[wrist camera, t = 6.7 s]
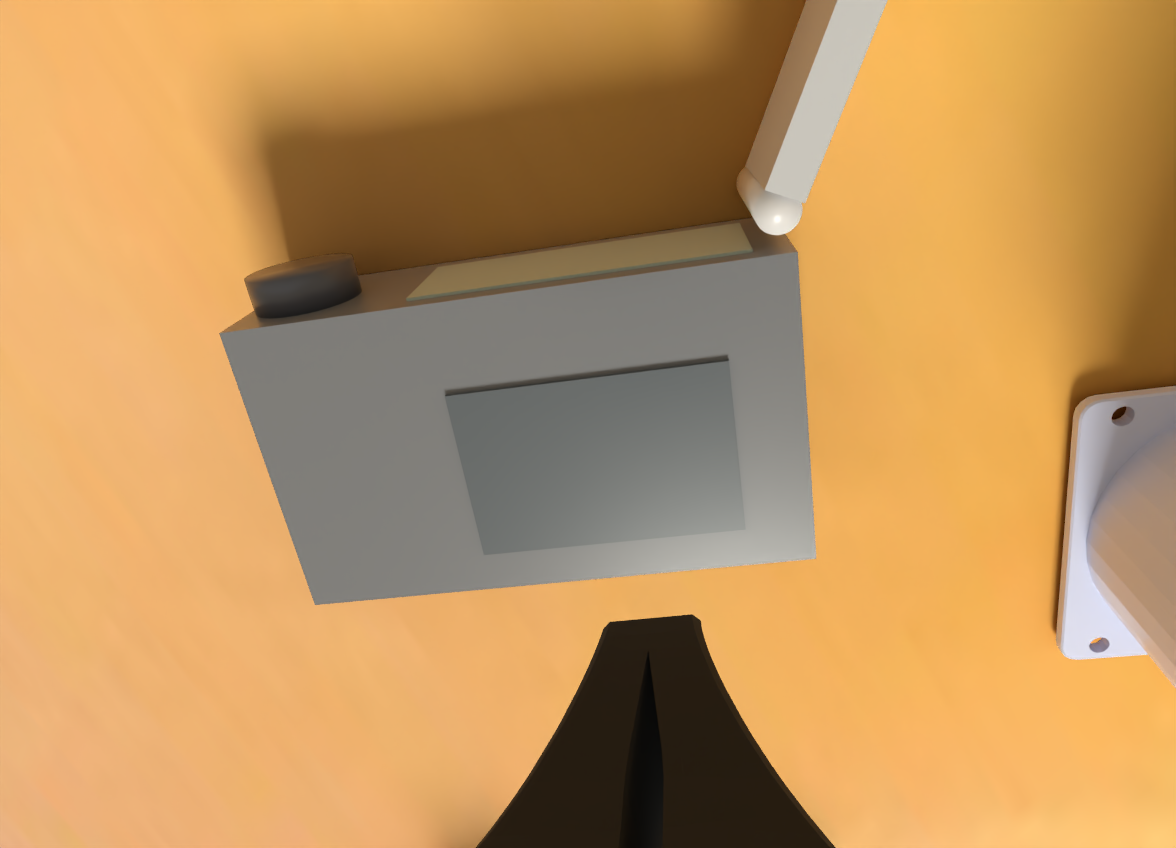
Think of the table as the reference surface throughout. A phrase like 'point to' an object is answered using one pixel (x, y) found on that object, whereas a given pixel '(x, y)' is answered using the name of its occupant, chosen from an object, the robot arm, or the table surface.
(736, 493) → the camera body
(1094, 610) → the robot arm
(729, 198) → the table surface
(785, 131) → the side door
